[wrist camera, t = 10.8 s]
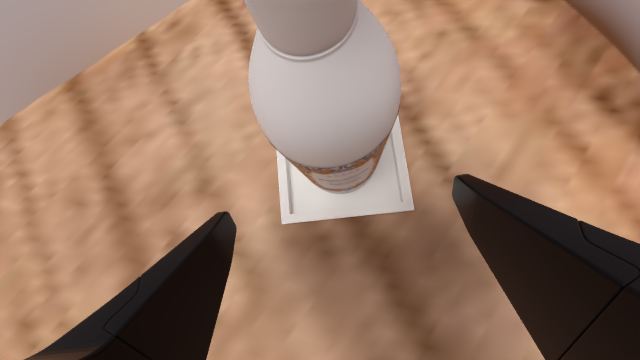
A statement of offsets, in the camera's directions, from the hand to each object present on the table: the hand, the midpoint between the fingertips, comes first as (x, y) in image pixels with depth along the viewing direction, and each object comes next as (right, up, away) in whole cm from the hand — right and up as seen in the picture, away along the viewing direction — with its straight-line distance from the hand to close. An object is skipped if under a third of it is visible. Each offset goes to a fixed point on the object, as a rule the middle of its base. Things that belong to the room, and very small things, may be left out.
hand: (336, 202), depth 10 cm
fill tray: (+1, +3, +14) cm, 15 cm away
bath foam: (+1, +3, +14) cm, 14 cm away
